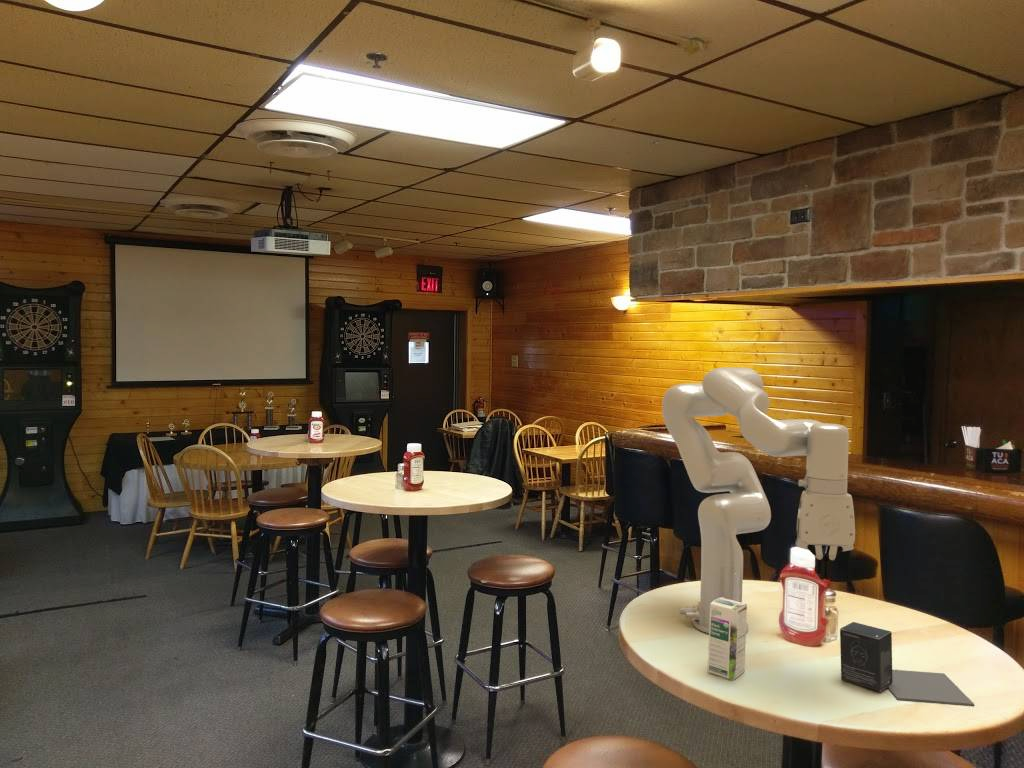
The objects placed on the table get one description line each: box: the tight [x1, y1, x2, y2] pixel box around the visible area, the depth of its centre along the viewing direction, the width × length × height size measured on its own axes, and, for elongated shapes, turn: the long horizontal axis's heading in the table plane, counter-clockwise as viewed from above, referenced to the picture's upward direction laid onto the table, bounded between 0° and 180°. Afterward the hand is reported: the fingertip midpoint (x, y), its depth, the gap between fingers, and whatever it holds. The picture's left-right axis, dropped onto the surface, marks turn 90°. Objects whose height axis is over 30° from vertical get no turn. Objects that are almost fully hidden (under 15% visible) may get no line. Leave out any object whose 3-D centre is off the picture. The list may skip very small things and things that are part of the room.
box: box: [839, 621, 893, 692], centre depth 146 cm, size 8×6×11 cm
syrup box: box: [707, 597, 748, 681], centre depth 150 cm, size 6×6×14 cm
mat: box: [887, 669, 975, 707], centre depth 145 cm, size 14×13×1 cm
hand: (823, 577), depth 147 cm, fingers closed
